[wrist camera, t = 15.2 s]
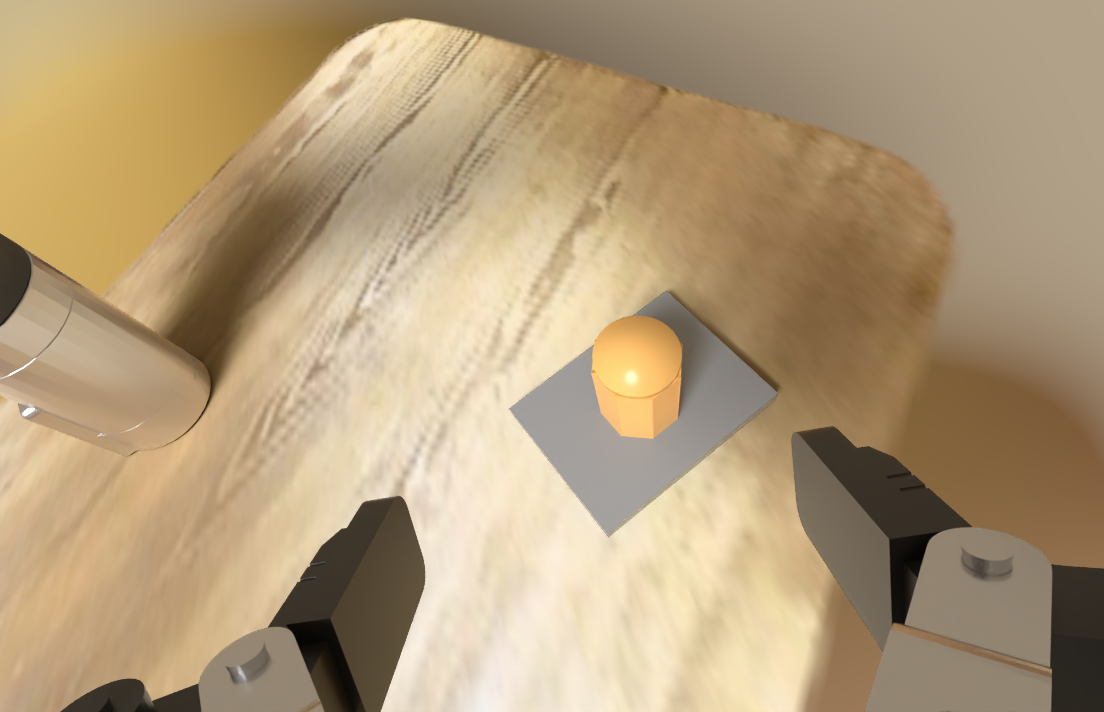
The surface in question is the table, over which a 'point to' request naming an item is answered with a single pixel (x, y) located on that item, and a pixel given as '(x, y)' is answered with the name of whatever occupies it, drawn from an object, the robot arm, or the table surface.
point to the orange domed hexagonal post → (638, 375)
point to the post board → (642, 463)
